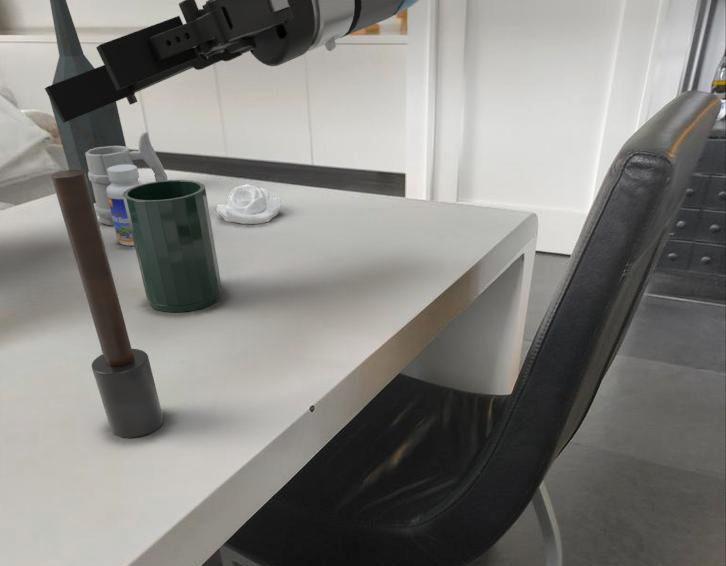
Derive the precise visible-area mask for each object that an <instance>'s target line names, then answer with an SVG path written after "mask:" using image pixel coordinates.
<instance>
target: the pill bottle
mask: <svg viewBox="0 0 726 566" xmlns="http://www.w3.org/2000/svg"><path fill="white" fill-rule="evenodd" d="M107 173H108V177H109V180H110V181H111V184H110V185H109V186H108V187H107V190H106V192H107V197H108V201H109V205H110V209H111V214H112V218H113V222H114V231H115V234H116V239H117V241H118V243H119V244H120V245H124V246H131V247H135V246H134V241H133V237H132V233H131V229H130V225H129V220H128V216H127V212H126V208H125V203H124V199H123V193H124V192H125V191H126V190H127V189H130V188H132V187H134V186H138V185H141V184H144V183H143V181H139V178H140V174H139V169H138V166H137V165H135V164H133V165H116V166H112V167H109V168H108V169H107Z"/></svg>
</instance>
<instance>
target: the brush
mask: <svg viewBox="0 0 726 566" xmlns="http://www.w3.org/2000/svg"><path fill="white" fill-rule="evenodd" d="M50 177H51V181H52V184H53V187H54V191H55V194H56V198H57V202H58V204H59V208H60V212H61V215H62V218H63V222H64V226H65V228H66V232H67V235H68V239H69V242H70V245H71V249H72V252H73V256H74V260H75V263H76V266H77V270H78V273H79V277H80V281H81V283H82V286H83V287H82V288H83V290H84V294H85V298H86V300H87V304H88V307H89V311H90V315H91V318H92V322H93V325H94V327H95V332H96V334H97V338H98V342H99V345H100V348H101V352H102V353H101V354H100V355H99V356H97V357H95V359H93V361H92V363H91V370H92V373H93V376H94V380H95V383H96V385H97V389H98V393H99V395H100V399H101V402H102V405H103V408H104V412H105V415H106V420H107V422H108V425H109V428H110V431H111V432H112V433H113V434H114V435H115V436H118V437H120V438H127V439H129V438H139V437H143V436H146V435H149V434H151V433H153V432H155V431H158V429H160V427H161V426H162V425H163V423H164V415H163V412H162V407H161V403H160V398H159V395H158V390H157V386H156V383H155V379H154V375H153V369H152V366H151V361H150V357H149V355H148V353H147V352H145V351H144V350H142V349H138V348H132V345H131V342H130V341H131V340H130V338H129V334H128V333H129V332H128V330H127V326H126V322H125V317H124V314H123V311H122V306H121V303H120V299H119V295H118V290H117V288H116V284H115V281H114V277H113V272H112V269H111V265H110V261H109V257H108V254H107V251H106V246H105V243H104V238H103V235H102V231H101V227H100V224H99V219H98V215H97V214H96V211H95V204H94V203H93V200H92V196H91V192H90V189H89V185H88V181H87V177H86V173H85V171H83V170H69V169H65V170H60V171H56V172H54V173H52V174H51V175H50Z"/></svg>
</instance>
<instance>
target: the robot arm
mask: <svg viewBox="0 0 726 566" xmlns="http://www.w3.org/2000/svg"><path fill="white" fill-rule="evenodd" d="M419 1H420V0H206V1H205V4H203V5H202V6H201V7H202V8H200V9H199V7H198V5H197V2H196V0H183V1H180V2H179V3H178V6H179V9H180V11H181V14H182V17H183V18H184V20H185V23H183V21H182V19H181V16H180V15H177V16H175V17H172V18H169V19H166V20H164V21H161V22H158V23H155V24H153V25H150V26H147V27H145V28H141V29H139V30H136V31H133V32H130V33H128V34H125V35H122V36H119V37H118V38H117V37H116V38H114V39H112V40H109V41H106V42H104V43H101V44H99V45H97V46H96V47H95V48H96V50H97V52H98V56H99V57H100V58H101V61H102V63H103V65H101V66H98V67H94V68H95V69H92V70H90V71H87V72H85V73H82V74H79V75H77V76H74V77H71V78H69V79H66V80H64V81H61V82H58V83H56V84H53V85H52V84H51V85H48V86H46V87H45V88H44V90H45V92H46V94H47V96H48V98H50V99H49V101H50V100H51V101H52V103H53V105H54V107H55V109H56V111H57V113H58V114H59V116H60V118H61V120H62V122H63V123H65V122H67V121H69V120H72V119H74V118H77V117H79V116H82V115H84V114H87V113H89V112H91V111H94V110H96V109H99V108H101V107H104V106H106V105H109V104H111V103H114V102H116V103H117V102H118V101H122V100H123V99H125V98H126V100H127V102H128V104H129V106H130V105H133V104H136V103H138V98H137V97H136V95H135V94H136V93H138V92H141V91H144V90H145V89H147V88H149V87H152V86H154V85H156V84H159V83H160V82H165V81H166V80H168V79H170V78H172V77H175V76H177V75H179V74H183V73H184V72H186V71H189V70H192V69H195V70H196V71H200V70H203V69H206V68H209V67H211V66H213V65H215V64H217V63H219V62H230V61H232V60H235V59H237V58H239V57H241V56H243V55H244V54H246V53H248V52H250V53H251V55H252V56H253V57H254V58H255V59H256V60H258V61H259V62H260V63H261V64H263V65H266V66H268V67H278V66H280V65H283V64H285V63H287V62H290V61H292V60H295V59H297V58H299V57H301V56H303V55H305V54H306V53H307V52H311V51H313V50H316V49H318V48H321V47H323V46H325V49H326V51H328V52H332V51H334V50H335V49H336V47H337V44H336V40H339V39H341V38H344V37H346V36H349V35H351V34H354V33H356V32H359V31H362V30H364V29H366V28H368V27H371V26H373V25H376V24H378V23H381V22H383V21H386V20H388V19H390V18H391V17H394V16H396V15H398V14H399V13H402V12H404V11H405V10H407V9H409V8H411V7H413V6H414V5H415V4H416V3H418V2H419Z"/></svg>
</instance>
